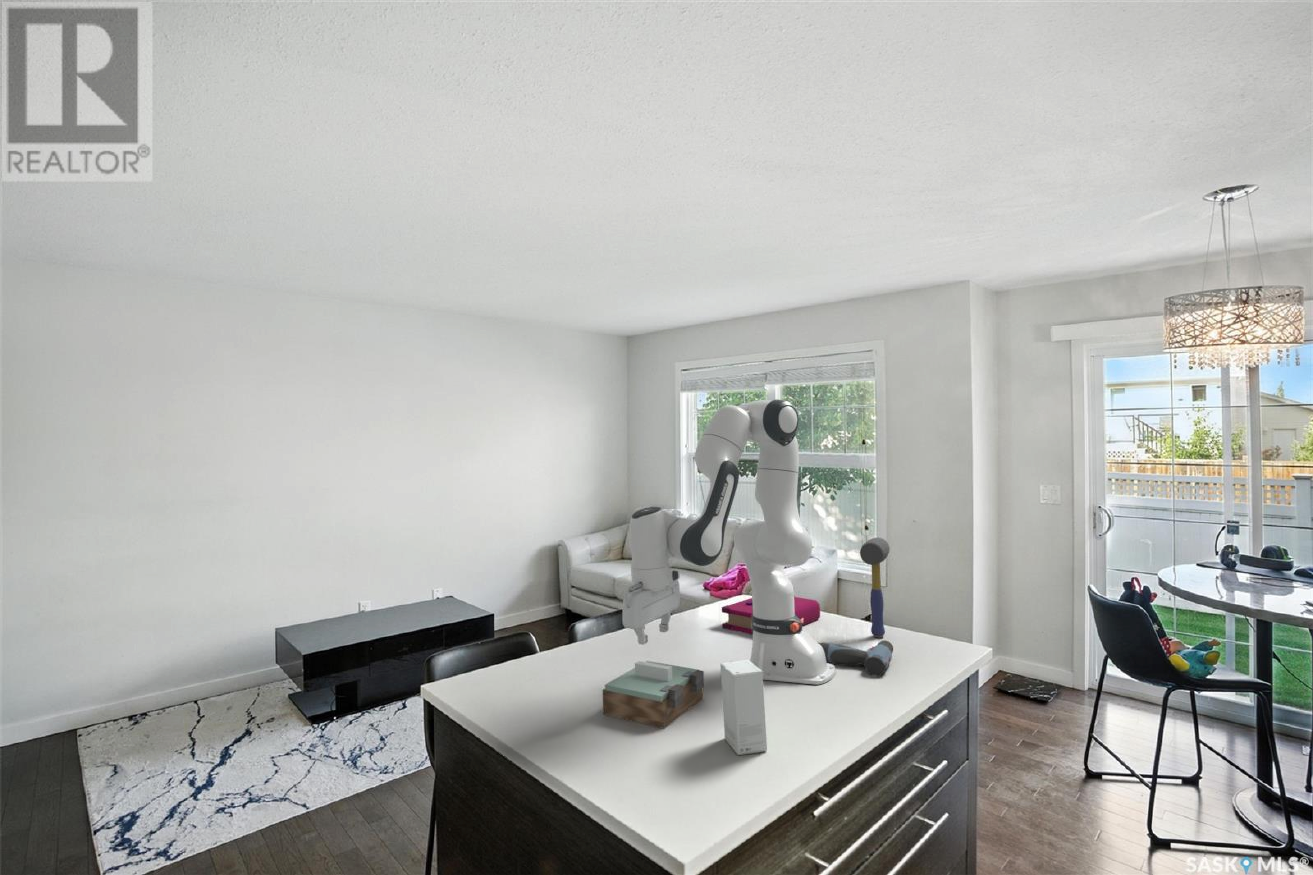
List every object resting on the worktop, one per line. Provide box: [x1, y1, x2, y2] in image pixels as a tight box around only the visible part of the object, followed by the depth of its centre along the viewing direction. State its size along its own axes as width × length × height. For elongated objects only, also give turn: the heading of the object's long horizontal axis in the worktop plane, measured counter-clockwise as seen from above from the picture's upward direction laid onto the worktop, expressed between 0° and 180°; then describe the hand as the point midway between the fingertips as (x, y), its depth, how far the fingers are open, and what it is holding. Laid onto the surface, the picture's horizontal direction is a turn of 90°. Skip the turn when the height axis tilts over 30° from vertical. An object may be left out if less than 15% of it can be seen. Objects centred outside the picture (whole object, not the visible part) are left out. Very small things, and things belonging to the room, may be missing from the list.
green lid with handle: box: [604, 660, 699, 702], centre depth 148 cm, size 15×18×4 cm
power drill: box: [817, 639, 894, 677], centre depth 174 cm, size 5×19×20 cm
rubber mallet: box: [859, 537, 890, 639], centre depth 195 cm, size 12×8×30 cm, turn 151°
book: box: [721, 596, 821, 635], centre depth 213 cm, size 21×28×8 cm
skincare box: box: [720, 659, 768, 756], centre depth 127 cm, size 8×7×16 cm
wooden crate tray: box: [602, 669, 705, 729], centre depth 147 cm, size 18×18×8 cm
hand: (653, 637), depth 148 cm, fingers open, 8 cm apart
